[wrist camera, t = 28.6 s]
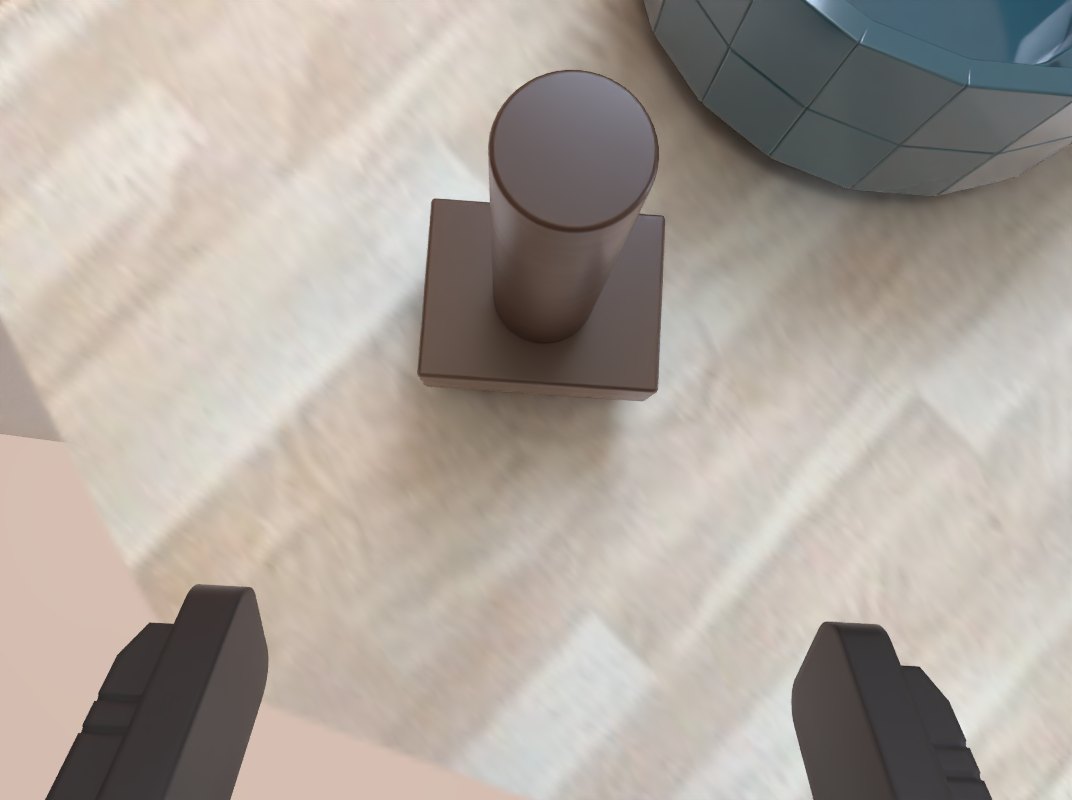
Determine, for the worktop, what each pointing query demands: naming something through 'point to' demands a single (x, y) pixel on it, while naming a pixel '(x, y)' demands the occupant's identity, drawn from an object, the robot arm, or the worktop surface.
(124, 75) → the worktop surface
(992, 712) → the worktop surface
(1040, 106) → the bowl
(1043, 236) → the worktop surface
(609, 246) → the brown stamp
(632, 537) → the worktop surface
